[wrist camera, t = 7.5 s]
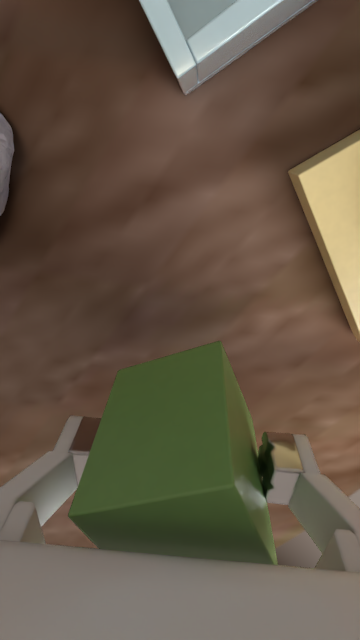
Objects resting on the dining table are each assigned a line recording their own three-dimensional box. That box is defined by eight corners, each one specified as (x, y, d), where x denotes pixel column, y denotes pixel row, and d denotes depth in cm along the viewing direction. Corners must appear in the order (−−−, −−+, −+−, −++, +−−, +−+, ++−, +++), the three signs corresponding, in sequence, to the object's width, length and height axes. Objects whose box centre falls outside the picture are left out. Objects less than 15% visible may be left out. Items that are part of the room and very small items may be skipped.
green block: (160, 439, 16) (139, 593, 10) (117, 369, 14) (65, 516, 8) (252, 418, 15) (280, 577, 9) (220, 339, 13) (234, 486, 7)
